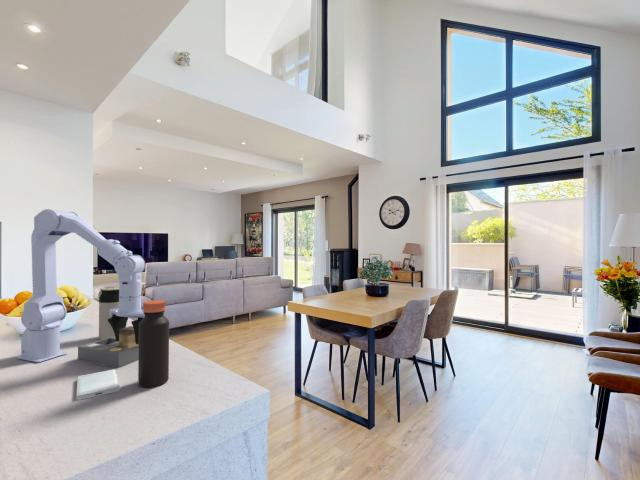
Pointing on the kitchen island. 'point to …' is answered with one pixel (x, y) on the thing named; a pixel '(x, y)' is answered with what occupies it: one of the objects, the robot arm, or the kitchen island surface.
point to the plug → (127, 337)
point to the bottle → (153, 345)
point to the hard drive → (97, 384)
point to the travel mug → (107, 310)
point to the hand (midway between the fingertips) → (129, 341)
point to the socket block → (107, 353)
